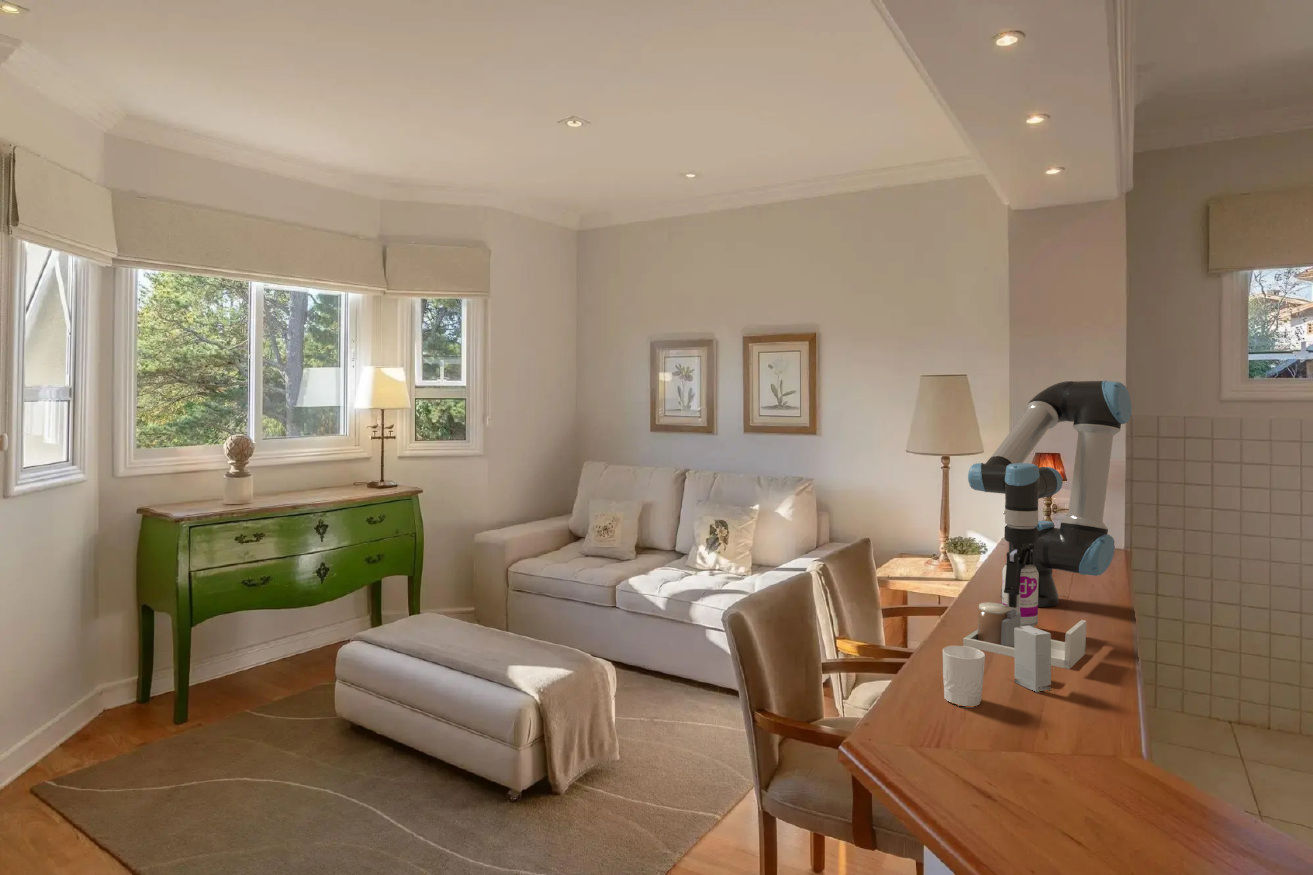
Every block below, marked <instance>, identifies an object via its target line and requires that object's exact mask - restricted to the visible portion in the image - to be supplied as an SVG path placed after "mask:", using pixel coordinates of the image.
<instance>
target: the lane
mask: <svg viewBox="0 0 1313 875" xmlns="http://www.w3.org/2000/svg"><path fill="white" fill-rule="evenodd" d="M977 634H978V628H977V629H976V630H974V631H972V632H971V633H970V634H968V635H966V636H965V637H963V639H962V646H967V647H972V648H976V649H978V650H981V651H985V652H989V653H992V654H998V655H1002V656H1006V657H1012V658H1015V649H1014V646H1013V647H1007V646H1003V645H998V644H993V643H988V642H984V641H979V640H977ZM1064 635H1065V636H1064V637H1065V639H1064V641H1060V640H1056V639H1051V667H1057V668H1062V669H1066V670H1071V668H1073V666H1075V665H1076V663H1078V662H1079V660H1080V659H1082V658H1083V657H1084V656H1085V655H1086V640H1087V637H1086V636H1087V620H1084V619H1081V620H1080V621H1078V622H1077V623H1076V624H1074V626H1072V627H1071V628H1070V629H1068V631H1066V632H1065V634H1064Z"/></svg>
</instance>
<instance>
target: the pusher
mask: <svg viewBox="0 0 1313 875" xmlns="http://www.w3.org/2000/svg"><path fill="white" fill-rule="evenodd" d="M1020 625H1021V612H1016V610H1011V611H1010V612H1008V613H1007V618H1006V619H1005V620H1003V621H1002V629H1001V645H1003V646H1007V647H1013V646H1014V628H1016V627H1020Z"/></svg>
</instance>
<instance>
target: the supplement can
mask: <svg viewBox="0 0 1313 875" xmlns="http://www.w3.org/2000/svg"><path fill="white" fill-rule="evenodd" d="M1006 566H1007V562H1006V563H1005V564H1004V567H1003V568H1002V570H1001V571H1002V572H1001V573H1002V575H1001V576H1002V582H1001V584H1002V587H1001V589H1002V598H1001V604H1004V605H1007V606H1008V593H1004V590H1005V579H1006ZM1038 579H1039V573H1038V571H1037V569H1036V566H1035V565H1033V564H1030V565H1025V568H1023V569H1021V574H1020V588H1019V594H1020V612H1021V625H1020V627H1022V626H1031V627H1034V628H1035V626H1036V625H1038V624H1039V622H1038V620H1039V619H1038V616H1039V607H1038ZM1012 589H1013V588H1012Z"/></svg>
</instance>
